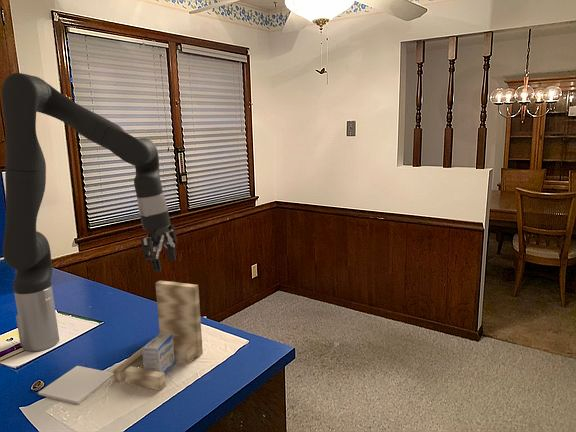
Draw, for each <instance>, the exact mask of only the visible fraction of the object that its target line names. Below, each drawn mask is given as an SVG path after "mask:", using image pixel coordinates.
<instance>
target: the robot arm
mask: <svg viewBox="0 0 576 432" xmlns="http://www.w3.org/2000/svg"><path fill="white" fill-rule="evenodd" d="M1 86H2V87H1V100H2V101H1V102H2V103H1V104H2V110H3V119H4V128H5V129H4V130H5V139H4V141H5V167H4V168H5V169H4V170H5V171H4V172H5V173H4V175H5V177H4V178H5V180H4V181H5V184H4V185H5V214H6V215H5V226H4V235H3V243H2V256H3V259H4V261H5V262H4V263H6V265H7V266H9V267H10V268H11V269H13V270H15V271H16V275H15V278H14V280H13V282H12V285H13V286H12V287H13V292H14V299H15V304H16V305H15V306H16V310H17V311H16V312H17V314H16V315H15V320H16V325H17V330H18V331H17V332H18V337H19V343H20V347H22V348H23V350H24V351H27V352H38V351H43V350H46V349H50V348H51V347H53V346H55V345H57V344H58V343H59V341H60V335H59V328H58V320H57V314H56V306H55V300H54V293H53V292H54V291H53V286H52V277H53V264H52V263H53V262H52V254H51V247H50V244H49V240H48V239H47V237H46V236H45V235H44V234H43V233H41V232H39V231H37V219H38V214H39V211H40V208H41V204H42V202H43V198H44V195H45V190H46V186H47V185H46V184H47V182H46V181H47V180H46V179H47V165H46V159H45V156H44V153H43V152H44V151H43V150H42V148H41V145H40V143H39V139H38V136H37V128H36V127H37V125H36V123H37V112H38V113H40V114H44V115H47V116H48V117H49V116H50V117H52V118H54V119H56V120H59V121H61V122H62V123H64V124H66V125H68V126H69V127H70V128H72V129H73V130H74V131H75V132H77V133H78V134H79V135H81V136H82V137H84V138H85V139H87V140H88V141H91V142H92V143H94V144H96V145H98V146H100V147H102V148H104V149H106V150H108V151H110V152H111V153H112V154H114V155H115V156H116V157H117V158H119V159H121V160H122V161H124V162H125V163H127V164H129V165H132V166H134V168H135V175H134V176H135V177H134V178H133V186H134V189H135V190H134V191H135V194H136V198H137V199H136V201H137V208H138V212H139V217H140V221H141V226H142V230H143V231H146V232H147V236H146V237H141V239H140V241H141V246H142V247H141V248H142V253H143V257H144V260H146V261H147V260H150V263H151V268H152V271H153V272H154V273H158V272H161V271H162V265H161V261H160V258H159V257H160V252H161V251H162V248H163V247H165V248H166V255H167V259H168V261H169V262H174V261H176V260H177V255H176V252H175V247H176V244H178V238H177V234H176V229H175V225H174V224H171V220H170V214H169V210H168V205H167V200H166V197H165V195H164V191H163V186H162V180H161V178H160V158H159V152H158V149H157V145H156V144H155V143H154V142H153V141H152V140H151V139H149V138H146V137H143V138H137V137H135V136H133V135H131V134H129V133H128V132H126V131H125V130H124V128H123V127H122V126H120V125H118V124H117V123H115V122H113V121H111V120H109V119H107V118H105V117H103V116H101V115H100V114H97V113H96V112H94V111H91V110H89V109H88V108H85V107H84V106H82V105H80V104H78V103H76V102H75V101H73V100H72V99H70V98H68V97H67V96H66V95H64V94H62V93H61V92H60V91H59V90H57V89H56V88H55V87H53V86H52V85H50V84H49V83H48V82H46V81H45V80H44V79H43V78H40V77H38V76H36V75H31V74H27V73H22V72H14V73H10V74H9V75H8V76H6V77H5V79H4V80H3V82H2V85H1Z"/></svg>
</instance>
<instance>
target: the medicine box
mask: <svg viewBox="0 0 576 432" xmlns="http://www.w3.org/2000/svg"><path fill="white" fill-rule="evenodd" d="M142 347H143V348H142ZM142 347H141V348H142V353H143V362H144V364H143V369H147V370H152V371H158V372H163V373H165V376H166V375H167V374H168V373H169V372H170V371H171V369H172V368H173V367H174V365H175V364H176V362H175V358H174V347H173V336H172V335H171V334H160V333H157V334H156V335H155V336H153V338H151V339H150V340H149V341H148V342H147V343H146V344H145V345H144V346H142ZM167 372H168V373H167Z"/></svg>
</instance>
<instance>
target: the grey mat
mask: <svg viewBox="0 0 576 432" xmlns="http://www.w3.org/2000/svg"><path fill="white" fill-rule="evenodd" d="M113 376H114V373H113V372H110V371H106V370H100V369H96V368H90V367H85V366H81V365H76V366H75V367H74V368H72V369H70V370H68V371H67V372H66V373H64V374H63V375H61V376H60V377H59V378H57V379H55V380H54V381H52V382H51V383H50V384H48V385H46V386H45V387H43V389H40V390H39V391H38V392H37V394H38V395H39V396H43V397H47V398H50V399H55V400H60V401H63V402H68V403H71V404H77V405H80V404H81V403H82V402H83V401H85V400H86V399H87V398H88V397H90V396H91V395H92V394H94V393H95V392H96V391H97V390H98V389H100V388H101V387H102V386H104V385H105V384H106V383H108V382H109V381H110V380H111V379H112V378H114V377H113ZM110 378H111V379H110ZM109 379H110V380H109ZM108 380H109V381H108ZM103 384H104V385H103Z"/></svg>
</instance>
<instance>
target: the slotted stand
mask: <svg viewBox="0 0 576 432" xmlns="http://www.w3.org/2000/svg"><path fill="white" fill-rule="evenodd" d="M155 296H156V305H157V316H158V318H157V319H158V329H159V334H171V335H172V336H173V347H174V358H175V363H178V362H179V364H185V365H189V364H190V363H191V362H192V361H193V360H194V359H195V358H196V357H197V358H200V357H201V356H202V355H203V353H204V352H203V351H204V349H203V339H202V338H203V337H202V336H203V335H202V322H201V307H200V290H199V284H193V283H185V282H184V283H183V282H177V281H173V282H170V281H167V280H158V281H156V282H155ZM143 347H144V346H142V347H140V349H138V350H137V351H135V352H134V353H133V354H132V355H131V356H129V357H128V358H126V359H125V360H124V361H123V362H122V363H120V364H119V365H118V366H116V367H115V368H114V369H112V373H114V377H113V380H115V381H114V382H117V381H119V382H118V383H122V382H123V381H124V380H125V384H129V385H131V386H136V387H141V388H146V389H152V390H156V391H160V392H161V391H162V390H163V389H164V388H165V387H167V385H166V384H167V383H166V375H165V373H163V372H158V371H152V370H147V369H144V368H142V367H141V366H143V365H144V364H143V363H144V362H143V353H142V348H143ZM142 364H143V365H142ZM138 367H139V368H138Z"/></svg>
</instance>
